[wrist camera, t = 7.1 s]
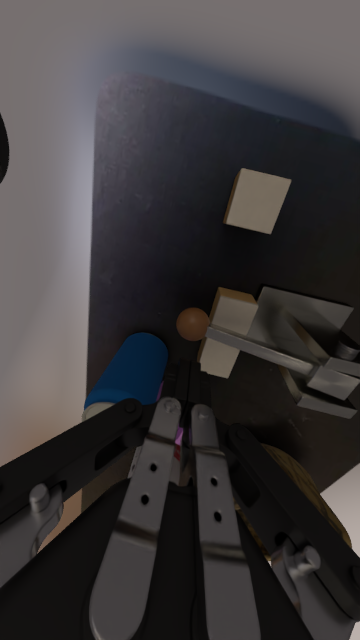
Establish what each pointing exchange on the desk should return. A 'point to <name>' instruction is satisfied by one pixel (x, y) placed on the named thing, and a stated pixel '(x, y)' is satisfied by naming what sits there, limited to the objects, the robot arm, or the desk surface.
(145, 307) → the desk surface
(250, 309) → the cake
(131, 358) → the beverage can
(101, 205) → the desk surface
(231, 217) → the cake slice
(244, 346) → the lever
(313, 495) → the ceramic bowl
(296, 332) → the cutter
